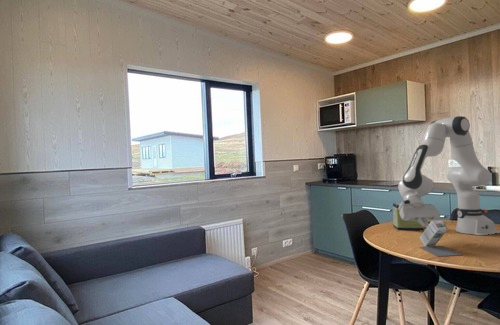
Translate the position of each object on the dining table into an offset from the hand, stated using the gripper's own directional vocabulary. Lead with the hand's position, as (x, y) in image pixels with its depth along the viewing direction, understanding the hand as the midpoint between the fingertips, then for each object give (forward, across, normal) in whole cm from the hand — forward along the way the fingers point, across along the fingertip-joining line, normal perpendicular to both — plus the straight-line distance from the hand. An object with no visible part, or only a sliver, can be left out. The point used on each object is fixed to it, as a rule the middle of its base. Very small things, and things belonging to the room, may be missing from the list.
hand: (425, 225), depth 166 cm
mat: (+14, -1, 0) cm, 14 cm away
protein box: (-20, -12, -35) cm, 42 cm away
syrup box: (+5, -1, -7) cm, 9 cm away
